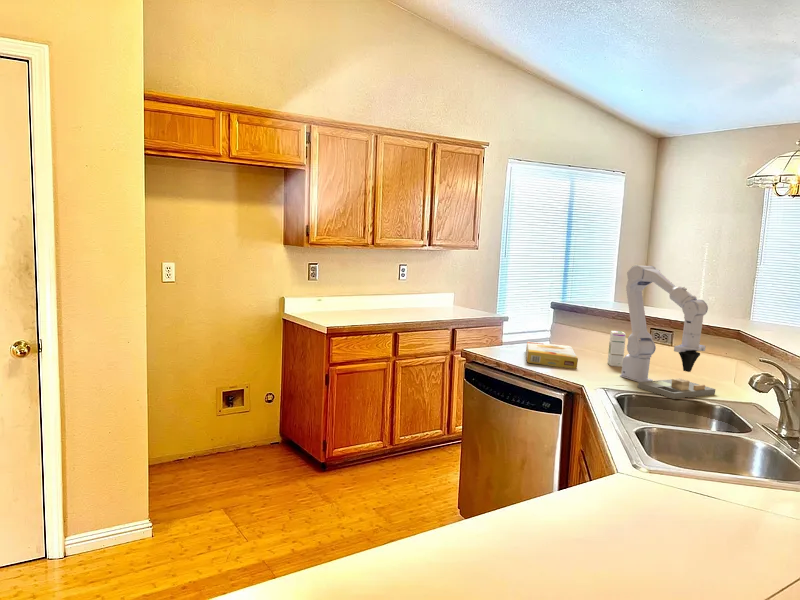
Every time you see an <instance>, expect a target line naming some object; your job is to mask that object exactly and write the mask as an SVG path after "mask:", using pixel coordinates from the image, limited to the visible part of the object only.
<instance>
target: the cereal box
mask: <svg viewBox="0 0 800 600" xmlns="http://www.w3.org/2000/svg"><path fill="white" fill-rule="evenodd" d="M525 355H526V362H527V363H529V364H536V365H540V366H541V365H542V366H547V367H549V366H550V367H555V368H556V367H557V368H563V367H564V368H566V369H572V370H573V369H575V370H576V369H577V368H578V360H579V357H578V356H577V354H576V353H575V351H574V349H573V347H572V346H571V345H570V346H569V345H561V344H554V343H543V342H542V343H541V342H535V341H533V342H532V341H527V342H526V348H525ZM564 368H563V369H564Z"/></svg>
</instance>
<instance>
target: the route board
mask: <svg viewBox="0 0 800 600" xmlns="http://www.w3.org/2000/svg"><path fill="white" fill-rule="evenodd" d="M672 379H673V378H672ZM672 379H671V378H669V379H660V380H653V381H645V382H637V383H638V384H637V388H638V389H641V388H642V389H641V390H644V389H645V390H644V391H647V390H648V391H647V392H650V391H651V392H650V393H653V392H654V393H653V394H656V393H658V394H657V395H660V394H661V396H663V395H664V396H663V397H666V398H670V399H672V400H678V399H686V398H685V397H688V398H695V397H696V396H697V397H703V396H704V397H705V395H706V396H713V395H714V394H715V395H716V388H713V387H709V386H706V385H705V384H698V383H694V382H692V381H690V382H689V390H679V389H675V388H672V387H671V385H672ZM687 381H689V380H688V379H687Z"/></svg>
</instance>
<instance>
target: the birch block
mask: <svg viewBox="0 0 800 600" xmlns="http://www.w3.org/2000/svg"><path fill="white" fill-rule="evenodd" d="M687 380H688V379H687ZM687 380H686V379H682V378H672V385H671V387H672V388H675V389H679V390H689V382H691V381H690V380H688V381H687Z"/></svg>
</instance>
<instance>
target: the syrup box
mask: <svg viewBox="0 0 800 600" xmlns="http://www.w3.org/2000/svg"><path fill="white" fill-rule="evenodd" d="M626 336H627V334H626V333H625V332H624V331H622V330H610V333H609V343H608V352H607V353H608V354H607V364H608V365H609V366H610V367H618V368H622V363H623V359H624V357H625V348H626V339H627V337H626Z"/></svg>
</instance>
